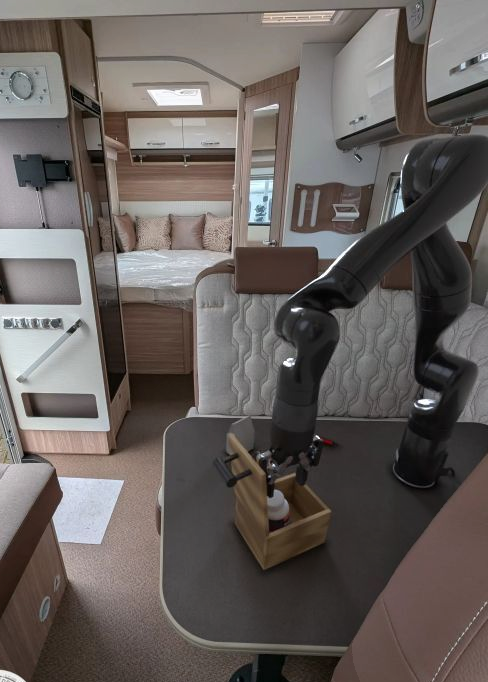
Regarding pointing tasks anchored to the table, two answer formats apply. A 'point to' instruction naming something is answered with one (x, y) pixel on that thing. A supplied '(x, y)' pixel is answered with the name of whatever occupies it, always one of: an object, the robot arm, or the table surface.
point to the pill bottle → (278, 512)
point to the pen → (328, 441)
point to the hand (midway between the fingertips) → (284, 488)
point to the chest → (292, 539)
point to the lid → (245, 482)
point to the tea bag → (242, 433)
